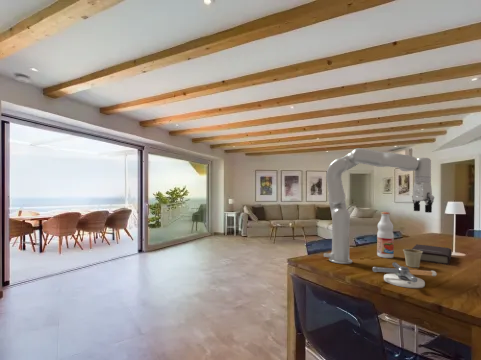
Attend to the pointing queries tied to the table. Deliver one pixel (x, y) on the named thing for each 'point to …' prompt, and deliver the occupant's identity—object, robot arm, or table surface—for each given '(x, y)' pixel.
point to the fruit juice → (385, 237)
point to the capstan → (404, 272)
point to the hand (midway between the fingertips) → (422, 211)
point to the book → (434, 254)
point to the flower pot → (412, 257)
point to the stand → (403, 281)
